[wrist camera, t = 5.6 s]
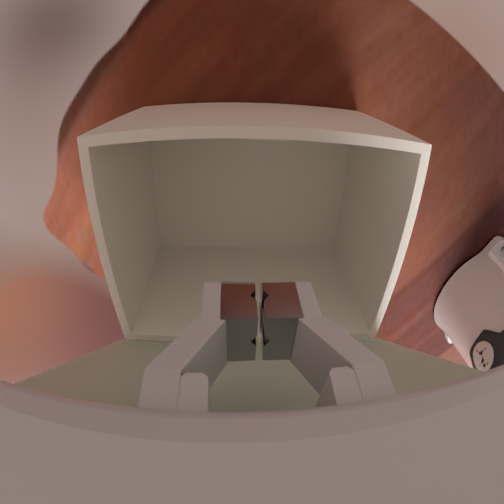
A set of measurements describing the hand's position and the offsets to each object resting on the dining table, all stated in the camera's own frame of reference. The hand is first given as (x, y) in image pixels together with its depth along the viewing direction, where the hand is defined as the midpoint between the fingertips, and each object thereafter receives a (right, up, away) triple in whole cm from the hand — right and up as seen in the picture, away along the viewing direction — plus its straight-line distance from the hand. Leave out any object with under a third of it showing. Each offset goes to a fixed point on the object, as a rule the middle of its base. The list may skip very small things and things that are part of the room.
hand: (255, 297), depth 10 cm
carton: (0, +8, +17) cm, 19 cm away
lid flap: (0, -4, +4) cm, 6 cm away
